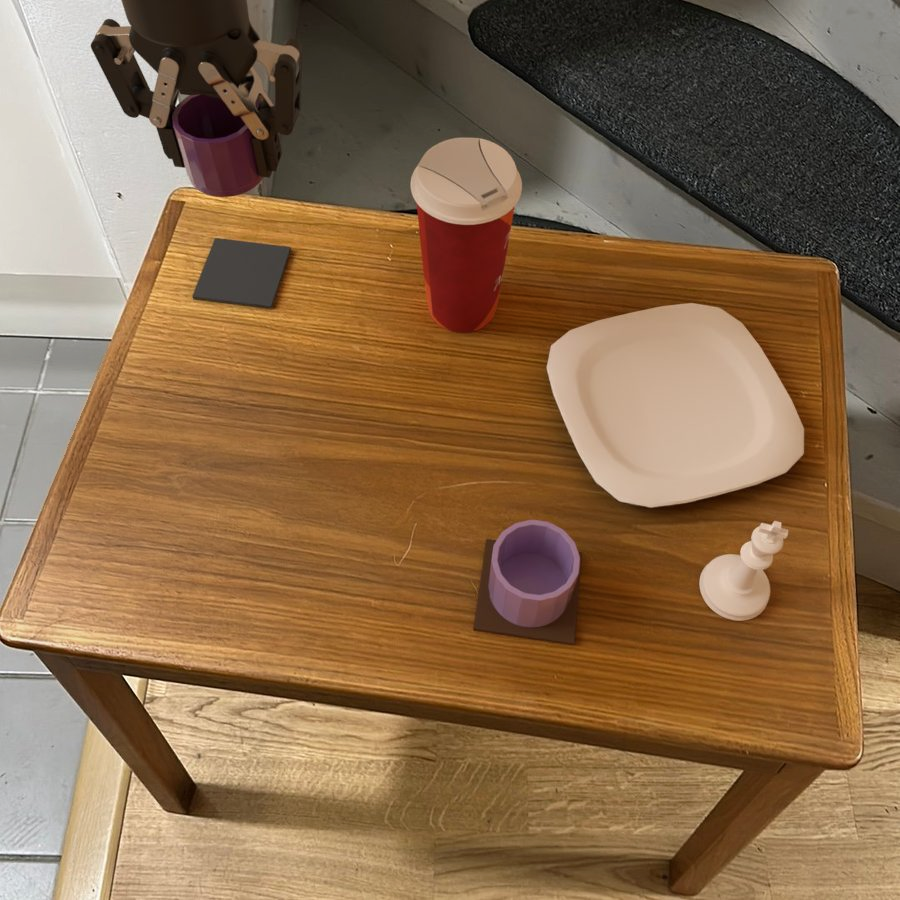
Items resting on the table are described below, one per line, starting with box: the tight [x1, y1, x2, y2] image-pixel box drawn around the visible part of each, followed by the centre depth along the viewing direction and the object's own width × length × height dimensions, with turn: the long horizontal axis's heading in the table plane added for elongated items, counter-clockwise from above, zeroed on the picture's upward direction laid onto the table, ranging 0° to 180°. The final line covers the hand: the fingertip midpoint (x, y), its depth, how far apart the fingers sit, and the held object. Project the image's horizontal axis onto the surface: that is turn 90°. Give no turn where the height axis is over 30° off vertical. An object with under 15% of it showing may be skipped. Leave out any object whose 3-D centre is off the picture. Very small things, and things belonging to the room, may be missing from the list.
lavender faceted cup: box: [489, 519, 580, 627], centre depth 63 cm, size 6×6×5 cm
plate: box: [546, 302, 805, 509], centre depth 73 cm, size 18×18×2 cm
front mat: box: [472, 538, 583, 646], centre depth 66 cm, size 7×7×1 cm
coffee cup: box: [410, 137, 523, 333], centre depth 73 cm, size 8×8×15 cm
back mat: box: [191, 237, 292, 310], centre depth 81 cm, size 7×7×1 cm
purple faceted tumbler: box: [172, 94, 264, 198], centre depth 67 cm, size 6×6×5 cm
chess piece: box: [698, 520, 789, 622], centre depth 62 cm, size 5×5×10 cm
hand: (225, 164), depth 69 cm, fingers closed on purple faceted tumbler, 6 cm apart
